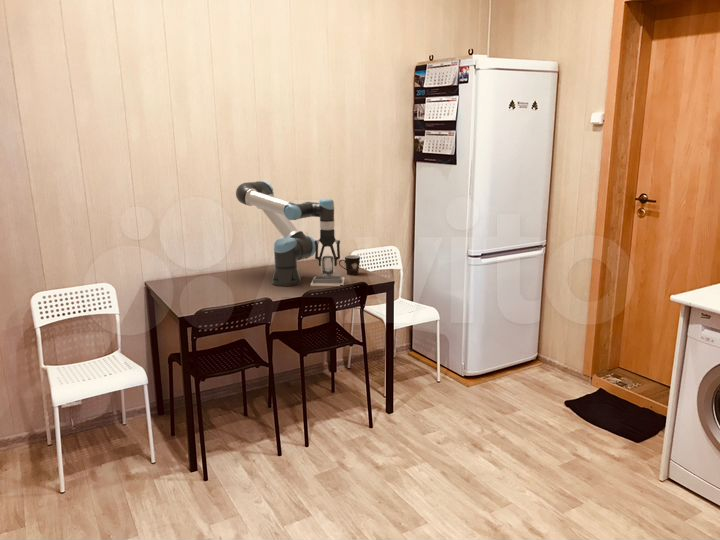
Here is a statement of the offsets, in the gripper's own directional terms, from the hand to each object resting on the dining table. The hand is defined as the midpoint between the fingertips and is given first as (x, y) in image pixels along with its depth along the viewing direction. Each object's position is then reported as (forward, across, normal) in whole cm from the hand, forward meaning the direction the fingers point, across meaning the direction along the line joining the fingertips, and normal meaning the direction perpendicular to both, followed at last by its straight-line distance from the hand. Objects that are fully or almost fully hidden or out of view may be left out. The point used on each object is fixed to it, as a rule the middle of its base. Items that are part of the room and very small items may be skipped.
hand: (327, 271), depth 305 cm
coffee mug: (+6, +11, +19) cm, 23 cm away
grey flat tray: (+6, 0, 0) cm, 6 cm away
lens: (+2, 0, 0) cm, 2 cm away
